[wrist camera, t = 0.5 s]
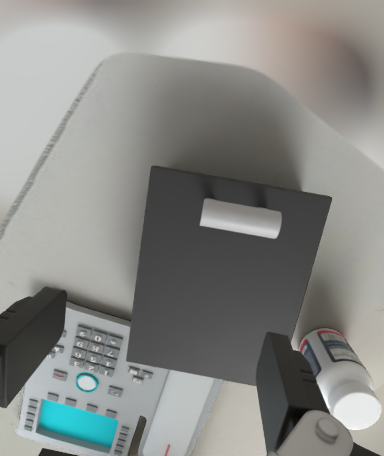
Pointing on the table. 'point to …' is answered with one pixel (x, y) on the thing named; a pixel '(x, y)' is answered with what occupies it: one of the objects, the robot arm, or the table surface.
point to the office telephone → (111, 395)
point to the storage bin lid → (220, 271)
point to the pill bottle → (341, 378)
